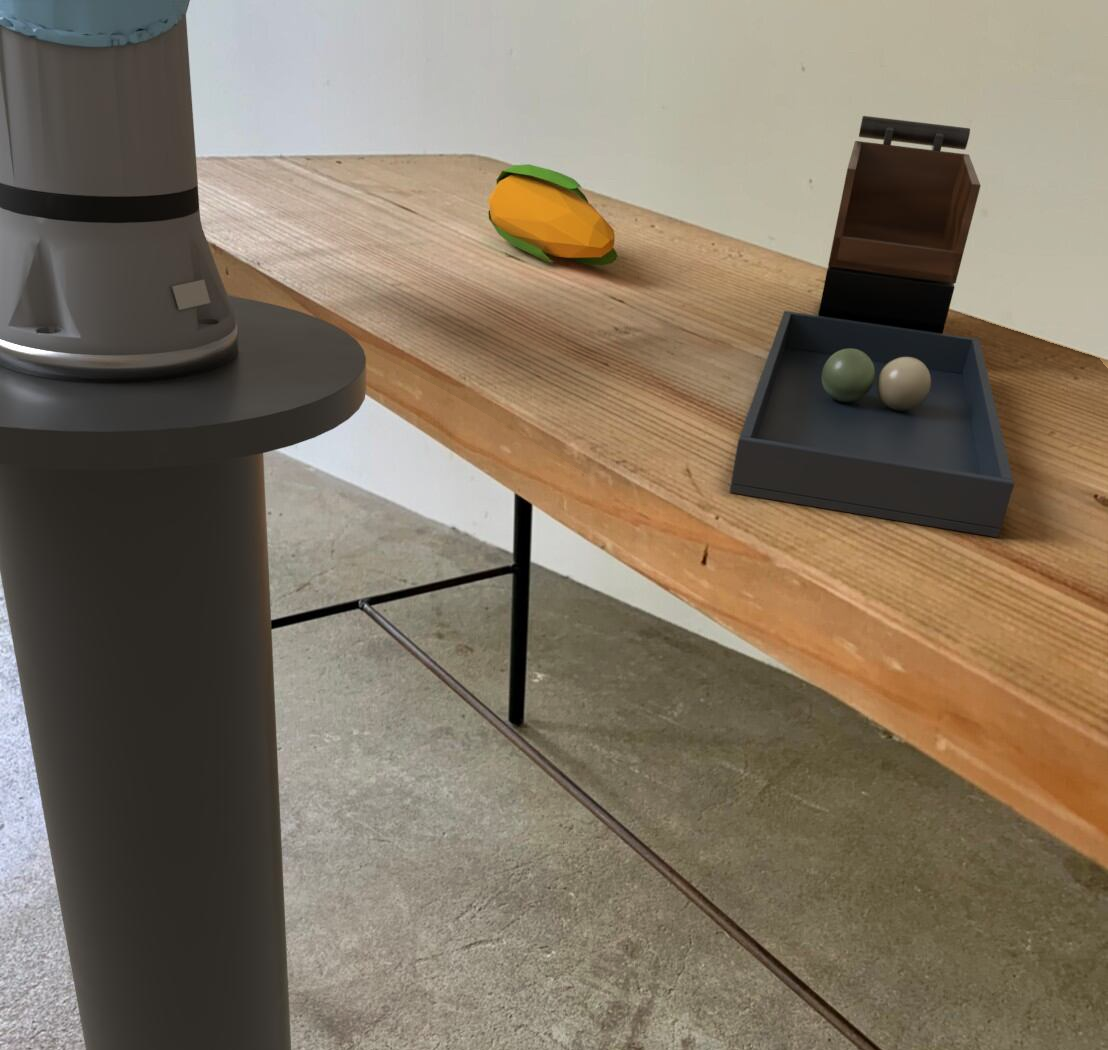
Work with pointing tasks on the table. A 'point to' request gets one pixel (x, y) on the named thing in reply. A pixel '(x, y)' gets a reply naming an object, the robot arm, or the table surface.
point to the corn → (549, 216)
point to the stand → (886, 299)
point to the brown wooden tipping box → (906, 202)
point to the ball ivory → (904, 383)
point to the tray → (876, 431)
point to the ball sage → (848, 375)
